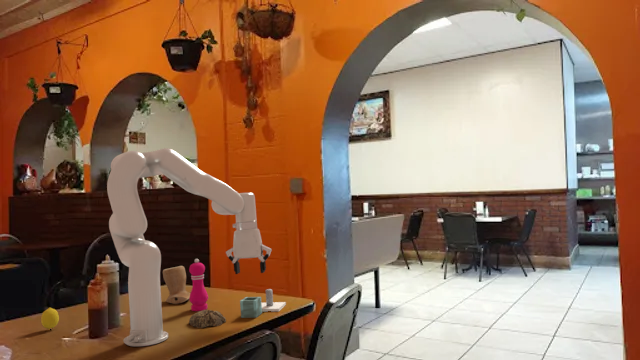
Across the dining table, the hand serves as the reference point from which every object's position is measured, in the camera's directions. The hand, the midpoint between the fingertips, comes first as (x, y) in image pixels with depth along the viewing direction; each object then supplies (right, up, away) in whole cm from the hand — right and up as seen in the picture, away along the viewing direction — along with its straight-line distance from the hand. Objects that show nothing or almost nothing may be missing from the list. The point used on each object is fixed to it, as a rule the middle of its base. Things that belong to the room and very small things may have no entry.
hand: (250, 273), depth 173 cm
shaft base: (+6, -15, +9) cm, 19 cm away
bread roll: (-14, -17, -7) cm, 23 cm away
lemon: (-71, -20, -4) cm, 74 cm away
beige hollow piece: (-36, -19, +32) cm, 51 cm away
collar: (+1, -15, -1) cm, 15 cm away
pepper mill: (-22, -17, +14) cm, 31 cm away
